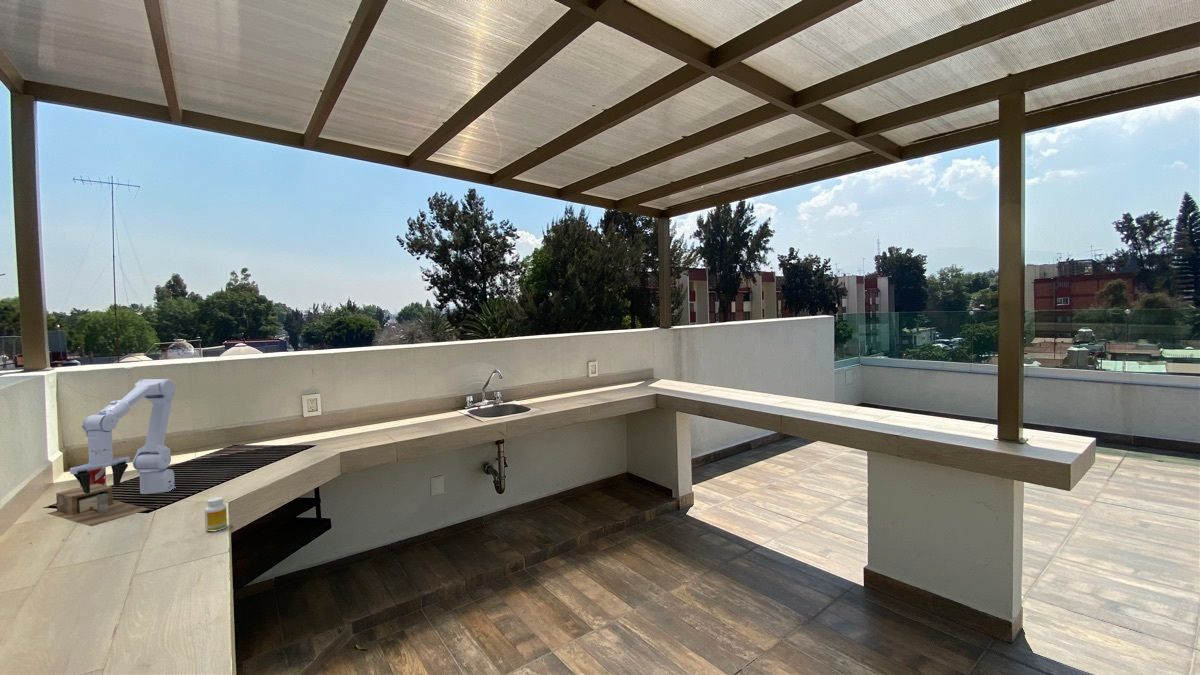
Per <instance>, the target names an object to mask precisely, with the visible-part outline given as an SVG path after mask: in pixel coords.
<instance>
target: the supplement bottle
mask: <svg viewBox="0 0 1200 675" xmlns="http://www.w3.org/2000/svg"><path fill="white" fill-rule="evenodd" d="M206 503H207V506H206V507H205V508H204V525H205V527H204V529H206V530H219V531H222V530H224V529H225V528H227V526H228V525H227V524H228V519H227V505H226V504H225V503H224V497H223V496H217V497H216V496H214V497H212V498H209V499H207V502H206ZM221 529H222V530H221ZM206 530H205V531H206Z"/></svg>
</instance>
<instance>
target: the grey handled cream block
mask: <svg viewBox="0 0 1200 675" xmlns="http://www.w3.org/2000/svg"><path fill="white" fill-rule="evenodd" d="M87 510H95V511H97V513H100V514H102V513H105V512H108V494H97V493H95V494H91V495H87V496H83V497H79V498H77V512H83V511H87Z"/></svg>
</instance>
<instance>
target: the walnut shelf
mask: <svg viewBox="0 0 1200 675" xmlns="http://www.w3.org/2000/svg"><path fill="white" fill-rule="evenodd" d="M95 493H97V494H108V512H105V513H102V514H100V513H97V511H95V510H87V511H83V512H77V498H79V497H83V496H87V495H91V494H95ZM55 496H56V497H55V498H56V499H55V500H56V510H54V511H50V512H47V513H46V514H47V515H50V516H54V517H56V518H61V519H65V520H69V521H72V522H75V523H79V524H82V525H86V526H90V527H94V526H98V525H101V524H105V523H108V522H112V521H115V520H118V519H122V518H125V517H129V516H132V515H136V514H138V513H142V512H146V511H148V510H150V508H147V507H142V506H138V505H135V504H130V503H127V502H122V501H119V500H114V499H113V498H114V497H113V486H110V485H107V484H106V485H102V484H97V483H96V484H92V485H90V493H84V491H83V488H82V487H80V486H79V487H76V488H72V489H68V490H63V491H59V492H56V494H55Z"/></svg>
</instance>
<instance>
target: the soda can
mask: <svg viewBox="0 0 1200 675" xmlns="http://www.w3.org/2000/svg"><path fill="white" fill-rule="evenodd" d="M87 472H88V473H90V474H91V477H90V485H92V484H96V483H97V484H102V485H106V486H107V467H104V468H99V469H94V470H90V471H87ZM80 487H82V486H81V484H80V483H79V488H80Z"/></svg>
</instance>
